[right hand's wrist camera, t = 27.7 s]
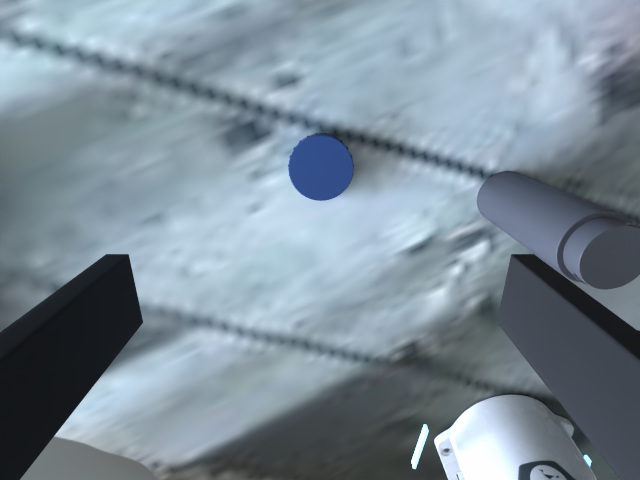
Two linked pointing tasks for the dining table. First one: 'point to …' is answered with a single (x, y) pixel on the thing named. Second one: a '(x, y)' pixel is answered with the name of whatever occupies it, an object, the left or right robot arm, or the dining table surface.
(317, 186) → the lid
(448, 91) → the dining table surface
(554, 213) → the jar
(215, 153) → the dining table surface
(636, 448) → the right robot arm
